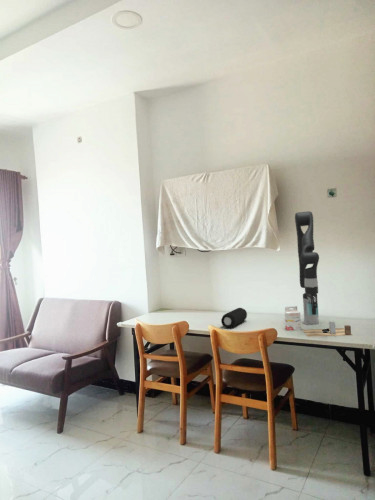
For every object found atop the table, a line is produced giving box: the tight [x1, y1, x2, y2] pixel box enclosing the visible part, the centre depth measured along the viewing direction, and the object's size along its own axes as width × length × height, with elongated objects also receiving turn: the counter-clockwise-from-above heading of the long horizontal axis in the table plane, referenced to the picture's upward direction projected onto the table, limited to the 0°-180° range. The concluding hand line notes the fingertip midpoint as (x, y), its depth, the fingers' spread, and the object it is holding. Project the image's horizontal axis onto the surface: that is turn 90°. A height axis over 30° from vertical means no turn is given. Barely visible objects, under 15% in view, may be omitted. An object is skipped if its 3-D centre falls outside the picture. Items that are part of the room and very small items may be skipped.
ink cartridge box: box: [284, 305, 302, 332], centre depth 225 cm, size 9×5×15 cm, turn 92°
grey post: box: [328, 321, 336, 335], centre depth 209 cm, size 3×3×7 cm
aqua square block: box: [307, 303, 319, 316], centre depth 214 cm, size 5×5×7 cm
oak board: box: [302, 327, 353, 338], centre depth 213 cm, size 16×25×1 cm, turn 85°
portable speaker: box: [220, 307, 248, 329], centre depth 249 cm, size 26×10×10 cm, turn 148°
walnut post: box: [343, 324, 352, 336], centre depth 206 cm, size 3×3×5 cm
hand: (312, 313), depth 214 cm, fingers closed on aqua square block, 5 cm apart
